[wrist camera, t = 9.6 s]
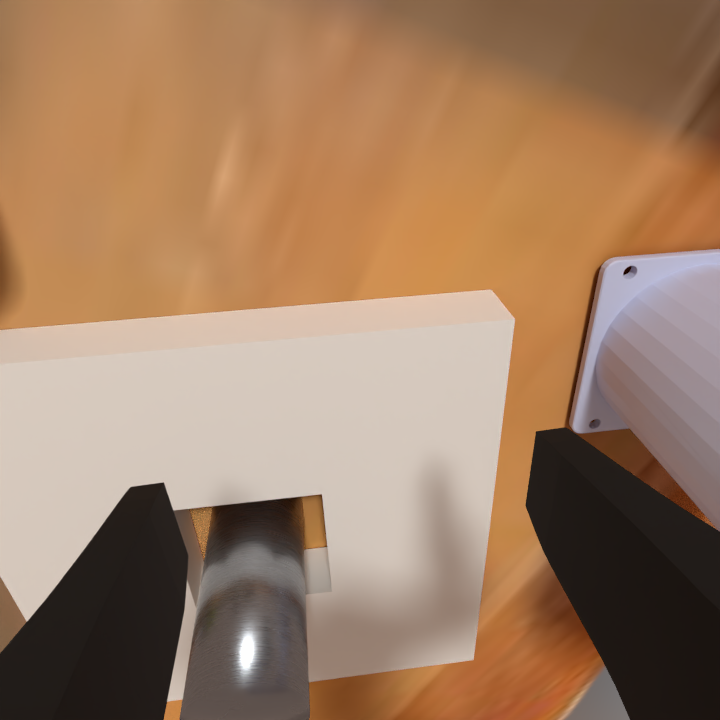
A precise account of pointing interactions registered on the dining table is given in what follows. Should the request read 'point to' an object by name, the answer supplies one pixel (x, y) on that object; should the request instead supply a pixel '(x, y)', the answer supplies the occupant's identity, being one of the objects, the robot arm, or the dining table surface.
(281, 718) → the long pin
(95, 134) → the dining table surface
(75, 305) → the dining table surface
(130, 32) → the dining table surface
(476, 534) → the hole plate
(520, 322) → the dining table surface
